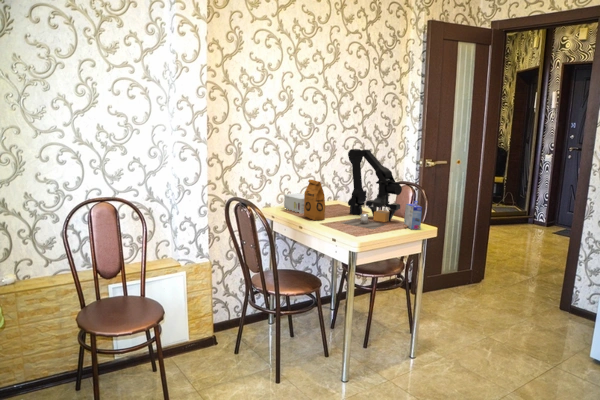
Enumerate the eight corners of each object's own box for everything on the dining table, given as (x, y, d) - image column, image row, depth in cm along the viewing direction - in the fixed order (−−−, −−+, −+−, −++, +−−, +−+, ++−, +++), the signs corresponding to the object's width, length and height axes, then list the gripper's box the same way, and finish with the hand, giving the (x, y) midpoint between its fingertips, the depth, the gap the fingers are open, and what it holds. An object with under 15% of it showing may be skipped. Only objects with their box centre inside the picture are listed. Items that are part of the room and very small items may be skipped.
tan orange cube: (373, 222, 250) (373, 211, 249) (379, 220, 255) (379, 210, 254) (384, 224, 246) (385, 213, 245) (390, 222, 251) (391, 211, 250)
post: (358, 223, 240) (359, 214, 239) (362, 222, 243) (363, 213, 242) (365, 224, 237) (366, 215, 237) (369, 223, 241) (369, 214, 240)
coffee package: (312, 221, 247) (313, 182, 244) (301, 217, 258) (302, 179, 254) (327, 220, 252) (328, 181, 248) (316, 215, 263) (317, 178, 259)
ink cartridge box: (421, 229, 235) (423, 202, 233) (411, 229, 234) (413, 202, 232) (412, 225, 245) (414, 199, 243) (403, 225, 244) (405, 199, 241)
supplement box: (283, 209, 281) (283, 194, 280) (300, 207, 289) (300, 192, 288) (300, 213, 268) (300, 198, 266) (316, 211, 276) (317, 196, 275)
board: (340, 225, 240) (340, 223, 240) (355, 220, 253) (355, 218, 252) (373, 231, 228) (373, 229, 228) (387, 226, 241) (387, 224, 241)
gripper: (361, 192, 247) (360, 219, 249) (392, 196, 236) (390, 225, 238) (371, 190, 255) (369, 216, 258) (401, 193, 244) (399, 221, 247)
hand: (381, 220), depth 250 cm, fingers open, 9 cm apart
